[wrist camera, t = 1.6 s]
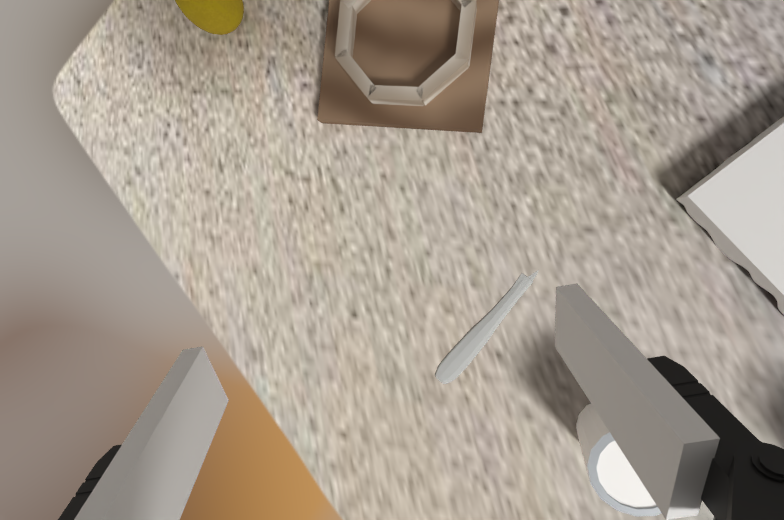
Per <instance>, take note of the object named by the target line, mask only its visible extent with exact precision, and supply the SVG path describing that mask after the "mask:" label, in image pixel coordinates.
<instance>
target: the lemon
mask: <svg viewBox="0 0 784 520" xmlns="http://www.w3.org/2000/svg"><path fill="white" fill-rule="evenodd" d="M175 1H176V3H177V5H178V6H179V8H180V9H181V11H182V12H183V13H184V15H185V16H186V17H187V18H188V19H189V20H190V21H191V22H193V23H194V24H195V25H196V26H198V27H199V28H201V29H202V30H205V31H207V32H209V33H212V34H219V35H223V34H228V33H230V32H232V31H234V30H235V29H236V28H237V27H238V26H239V24H240V23H241V21H242V18H243V13H244V6H243V1H242V0H175Z"/></svg>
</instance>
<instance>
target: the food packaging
mask: <svg viewBox="0 0 784 520" xmlns="http://www.w3.org/2000/svg"><path fill="white" fill-rule="evenodd" d="M676 200H677V201H679V202H680V203H682V204H683V205H684V206H685V208H686V211H687V213H688V214H689V215H690V216H691V217H692V218H693V219H694V220H695V221H696V222H697V223H698V224H699V225H700V226H702V227H703V228H704V229H706V230H707V231H708V233H709V234H710V236H711V237H712V239H713V241H714V243H715V245H716V246H717V247H718V248H719V249H720V250H721V251H722V252H723V254H724V255H725V256H726V257H728V258H729V259H730V260H732V261H734V262H735V263H737V264H739V265H741V266H742V267H744V268H745V269H747V270H748V271H749V273H750V274H751V277H752V279H753V280H754V282H755V283H757V284H758V285H759V286H761V287H762V288H764V289H765V290H767V291H768V292H770V293H771V294H772V295H773V296H774V297H775V298H776V300H777V303H778V309H779V310H780V312H781V313H782V314H783V315H784V116H783V117H782V118H780V119H779V120H778V121H776V122H775V123H774V124H772V125H771V126H770V127H769V128H767V129H766V130H765V131H763V132H762V133H761V134H759V135H758V136H757V137H755V138H754V139H753V140H752V141H751V142H750V143H749V144H747V145H746V146H745V147H743V148H742V149H740V150H739V151H738V152H736V153H735V154H733V155H732V156H730V157H729V158H728V159H726V160H725V161H724V162H723V163H722V164H721V165H720V166H719V167H717V168H716V169H715V170H714V171H712V172H711V173H710V174H709V175H707V176H706V177H704V178H703V179H702V180H700V181H699V182H698V183H697V184H695V185H694V186H693V187H691V188H690V189H689V190H688V191H686V192H685V193H684V194H683V195H681V196H680V197H678V198H677V199H676Z"/></svg>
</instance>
